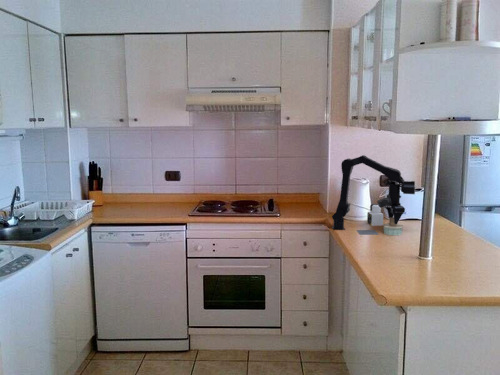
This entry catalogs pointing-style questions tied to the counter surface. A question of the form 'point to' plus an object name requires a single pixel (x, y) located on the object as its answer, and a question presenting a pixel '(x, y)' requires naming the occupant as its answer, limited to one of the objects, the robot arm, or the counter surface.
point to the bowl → (392, 231)
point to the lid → (392, 224)
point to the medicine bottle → (375, 216)
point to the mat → (367, 232)
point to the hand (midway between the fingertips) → (393, 222)
